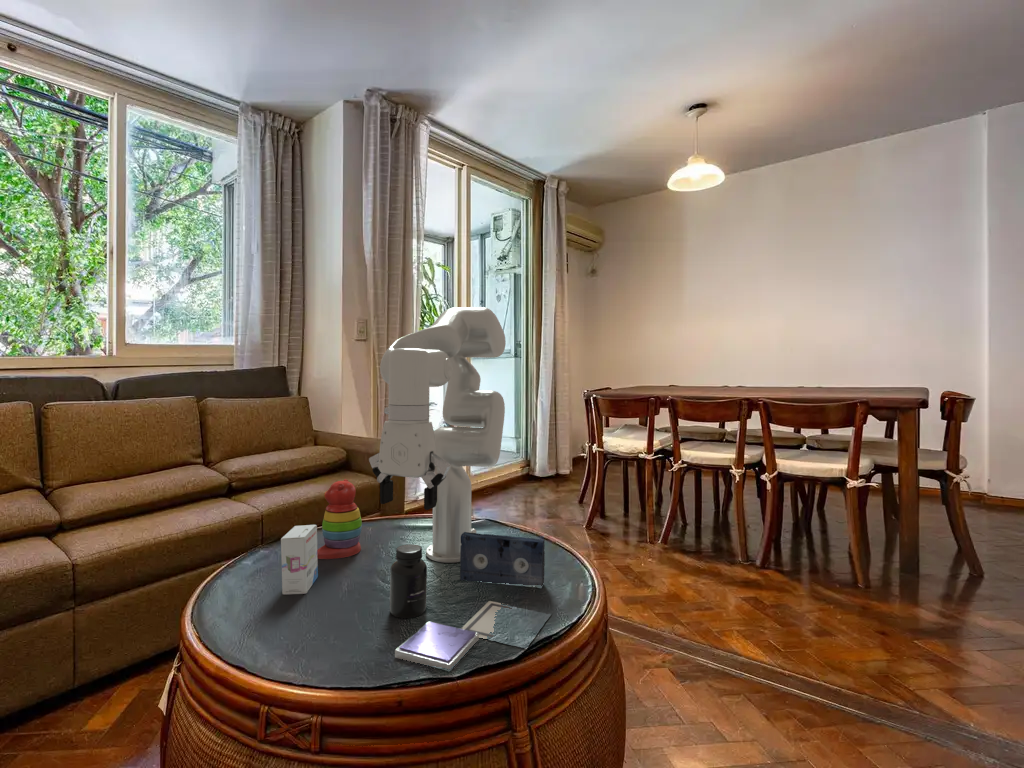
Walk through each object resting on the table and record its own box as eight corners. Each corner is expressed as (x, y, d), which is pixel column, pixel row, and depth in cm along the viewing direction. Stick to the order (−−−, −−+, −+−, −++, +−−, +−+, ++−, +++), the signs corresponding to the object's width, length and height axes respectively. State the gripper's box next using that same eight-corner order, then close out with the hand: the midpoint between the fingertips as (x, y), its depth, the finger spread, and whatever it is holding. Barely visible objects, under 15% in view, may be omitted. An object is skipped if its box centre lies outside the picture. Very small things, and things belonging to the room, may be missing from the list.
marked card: (489, 601, 100) (489, 600, 100) (551, 614, 95) (551, 613, 95) (457, 633, 89) (457, 631, 88) (526, 650, 83) (526, 648, 83)
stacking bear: (329, 543, 132) (329, 475, 132) (367, 544, 132) (367, 476, 131) (311, 559, 122) (311, 485, 121) (353, 560, 121) (353, 486, 121)
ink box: (295, 577, 111) (294, 523, 111) (318, 577, 111) (318, 523, 111) (280, 595, 103) (280, 537, 102) (306, 594, 103) (305, 536, 103)
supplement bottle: (418, 621, 93) (418, 556, 92) (383, 617, 94) (383, 553, 93) (431, 604, 99) (432, 543, 99) (399, 600, 101) (399, 540, 100)
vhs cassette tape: (544, 584, 109) (545, 538, 109) (542, 590, 106) (542, 543, 106) (463, 575, 114) (464, 531, 113) (459, 580, 111) (459, 535, 110)
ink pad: (428, 628, 90) (428, 619, 90) (479, 640, 86) (479, 631, 86) (394, 657, 81) (394, 648, 81) (449, 672, 77) (449, 662, 77)
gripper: (358, 413, 95) (357, 504, 95) (438, 417, 88) (437, 515, 89) (383, 411, 102) (382, 496, 102) (459, 415, 95) (458, 505, 96)
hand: (408, 505), depth 95 cm, fingers open, 9 cm apart
